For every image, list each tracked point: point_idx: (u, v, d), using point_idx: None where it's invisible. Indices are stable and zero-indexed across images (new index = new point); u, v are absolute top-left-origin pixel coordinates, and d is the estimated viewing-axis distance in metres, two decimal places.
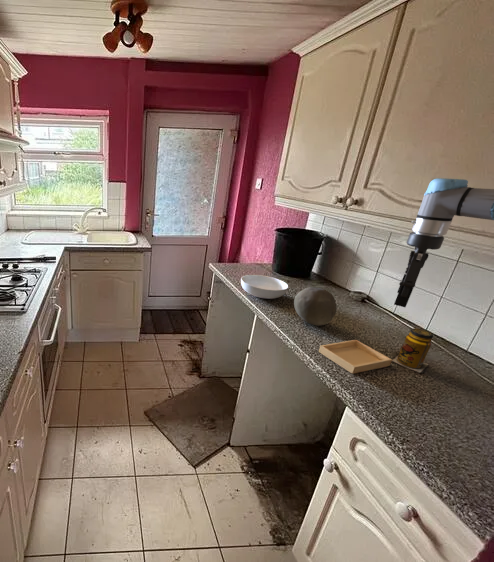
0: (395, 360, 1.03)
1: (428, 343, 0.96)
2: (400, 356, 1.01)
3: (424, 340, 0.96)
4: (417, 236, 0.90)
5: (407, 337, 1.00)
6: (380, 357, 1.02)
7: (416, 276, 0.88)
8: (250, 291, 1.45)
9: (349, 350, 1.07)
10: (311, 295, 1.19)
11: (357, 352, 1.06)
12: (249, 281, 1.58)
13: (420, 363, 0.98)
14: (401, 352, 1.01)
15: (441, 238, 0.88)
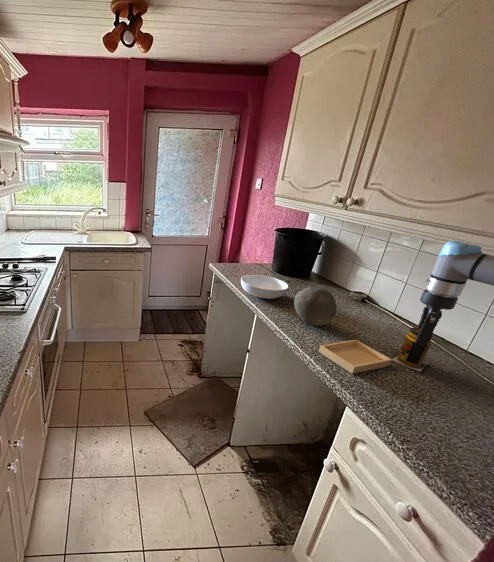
0: (395, 359, 1.04)
1: (428, 342, 0.96)
2: (400, 355, 1.02)
3: None
4: (431, 295, 0.92)
5: (407, 336, 1.00)
6: (380, 357, 1.02)
7: (428, 339, 0.92)
8: (250, 291, 1.45)
9: (349, 350, 1.07)
10: (311, 295, 1.19)
11: (357, 352, 1.06)
12: (249, 281, 1.58)
13: (420, 362, 0.99)
14: (401, 351, 1.02)
15: (455, 299, 0.90)
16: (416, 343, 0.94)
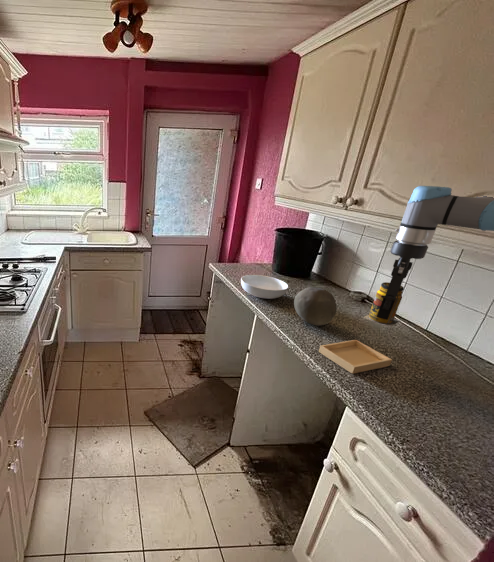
0: (366, 317, 0.99)
1: (398, 296, 0.92)
2: (371, 312, 0.98)
3: None
4: (400, 245, 0.88)
5: (378, 291, 0.96)
6: (380, 357, 1.02)
7: (397, 290, 0.88)
8: (250, 291, 1.45)
9: (349, 350, 1.07)
10: (311, 295, 1.19)
11: (357, 352, 1.06)
12: (249, 281, 1.58)
13: (391, 318, 0.95)
14: (372, 308, 0.98)
15: (425, 247, 0.86)
16: (385, 296, 0.90)
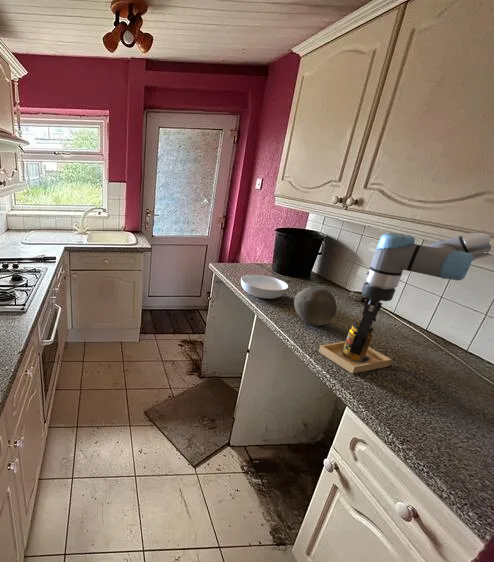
0: (340, 353, 1.05)
1: (368, 336, 0.98)
2: (344, 349, 1.03)
3: None
4: (370, 287, 0.93)
5: (350, 331, 1.01)
6: (380, 357, 1.02)
7: (368, 328, 0.91)
8: (250, 291, 1.45)
9: None
10: (311, 295, 1.19)
11: None
12: (249, 281, 1.58)
13: (362, 356, 1.00)
14: (345, 345, 1.03)
15: (392, 291, 0.91)
16: (357, 333, 0.92)
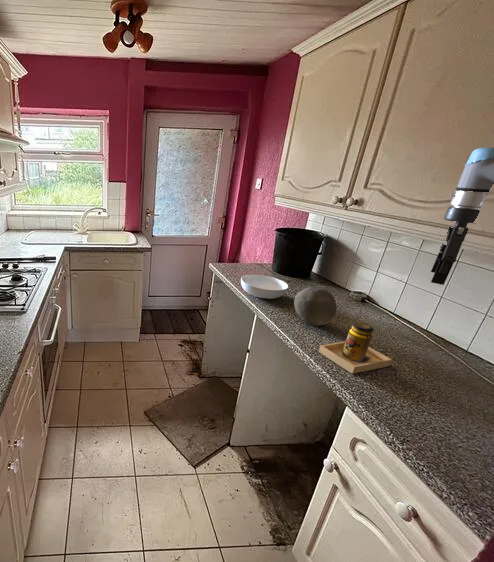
0: (340, 353, 1.05)
1: (368, 336, 0.98)
2: (344, 349, 1.03)
3: (364, 333, 0.97)
4: (457, 209, 0.86)
5: (350, 331, 1.01)
6: (380, 357, 1.02)
7: (457, 251, 0.84)
8: (250, 291, 1.45)
9: None
10: (311, 295, 1.19)
11: None
12: (249, 281, 1.58)
13: (362, 356, 1.00)
14: (345, 345, 1.03)
15: None
16: (444, 258, 0.86)
